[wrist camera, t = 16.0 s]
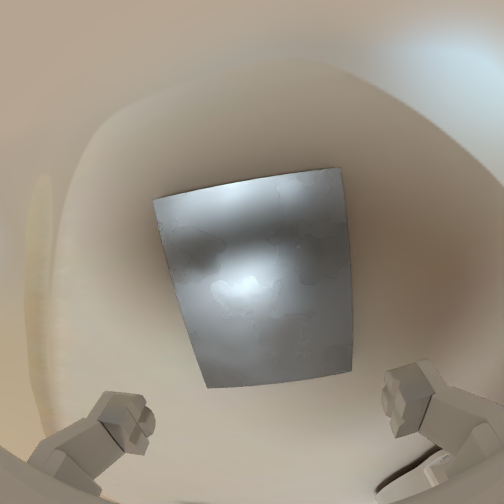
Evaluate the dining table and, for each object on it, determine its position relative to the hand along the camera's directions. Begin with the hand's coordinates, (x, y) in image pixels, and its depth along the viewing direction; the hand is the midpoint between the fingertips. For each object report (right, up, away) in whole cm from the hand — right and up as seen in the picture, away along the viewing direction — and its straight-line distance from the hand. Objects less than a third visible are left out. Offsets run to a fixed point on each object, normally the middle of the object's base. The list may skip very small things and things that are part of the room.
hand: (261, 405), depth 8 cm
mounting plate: (0, +3, +9) cm, 9 cm away
